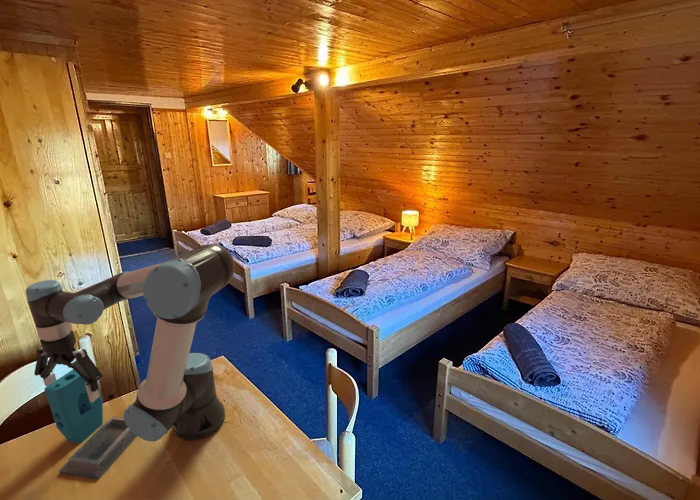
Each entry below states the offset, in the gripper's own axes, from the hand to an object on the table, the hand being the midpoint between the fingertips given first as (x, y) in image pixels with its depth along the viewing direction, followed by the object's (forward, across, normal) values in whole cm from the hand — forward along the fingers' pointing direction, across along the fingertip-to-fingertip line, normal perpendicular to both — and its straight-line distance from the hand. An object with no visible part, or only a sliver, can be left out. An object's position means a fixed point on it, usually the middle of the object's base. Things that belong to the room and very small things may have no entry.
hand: (74, 396), depth 110 cm
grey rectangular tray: (+13, -12, +4) cm, 18 cm away
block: (+13, 0, 0) cm, 13 cm away
